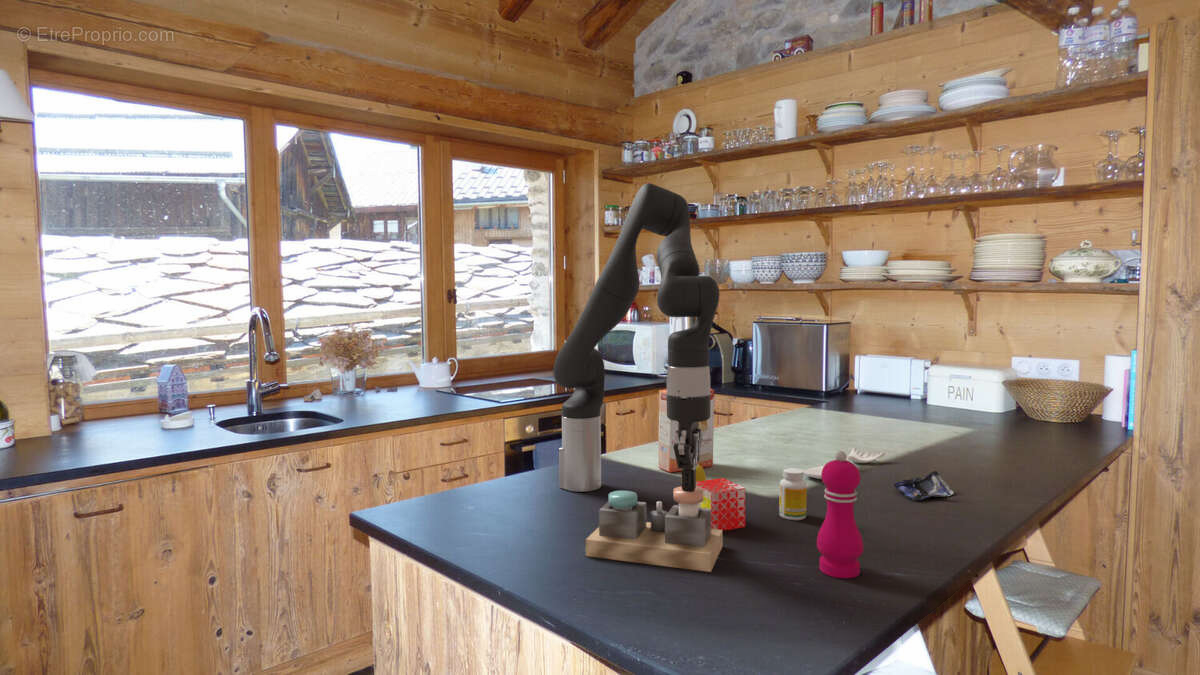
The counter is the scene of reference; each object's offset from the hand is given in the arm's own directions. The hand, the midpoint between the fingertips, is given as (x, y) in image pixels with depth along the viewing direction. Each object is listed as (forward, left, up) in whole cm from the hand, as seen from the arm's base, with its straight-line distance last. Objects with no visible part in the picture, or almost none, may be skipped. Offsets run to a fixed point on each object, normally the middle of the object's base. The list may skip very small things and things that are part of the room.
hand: (688, 490), depth 118 cm
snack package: (+43, +51, -12) cm, 68 cm away
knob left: (-12, 0, -9) cm, 15 cm away
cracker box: (-13, +59, -12) cm, 62 cm away
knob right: (0, 0, -7) cm, 7 cm away
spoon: (+26, +69, -12) cm, 74 cm away
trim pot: (-6, +3, -9) cm, 11 cm away
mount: (-6, 0, -12) cm, 13 cm away
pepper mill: (+25, +1, -12) cm, 28 cm away
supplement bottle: (+16, +27, -12) cm, 33 cm away
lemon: (-6, +34, -12) cm, 36 cm away
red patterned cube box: (+2, +18, -12) cm, 22 cm away
